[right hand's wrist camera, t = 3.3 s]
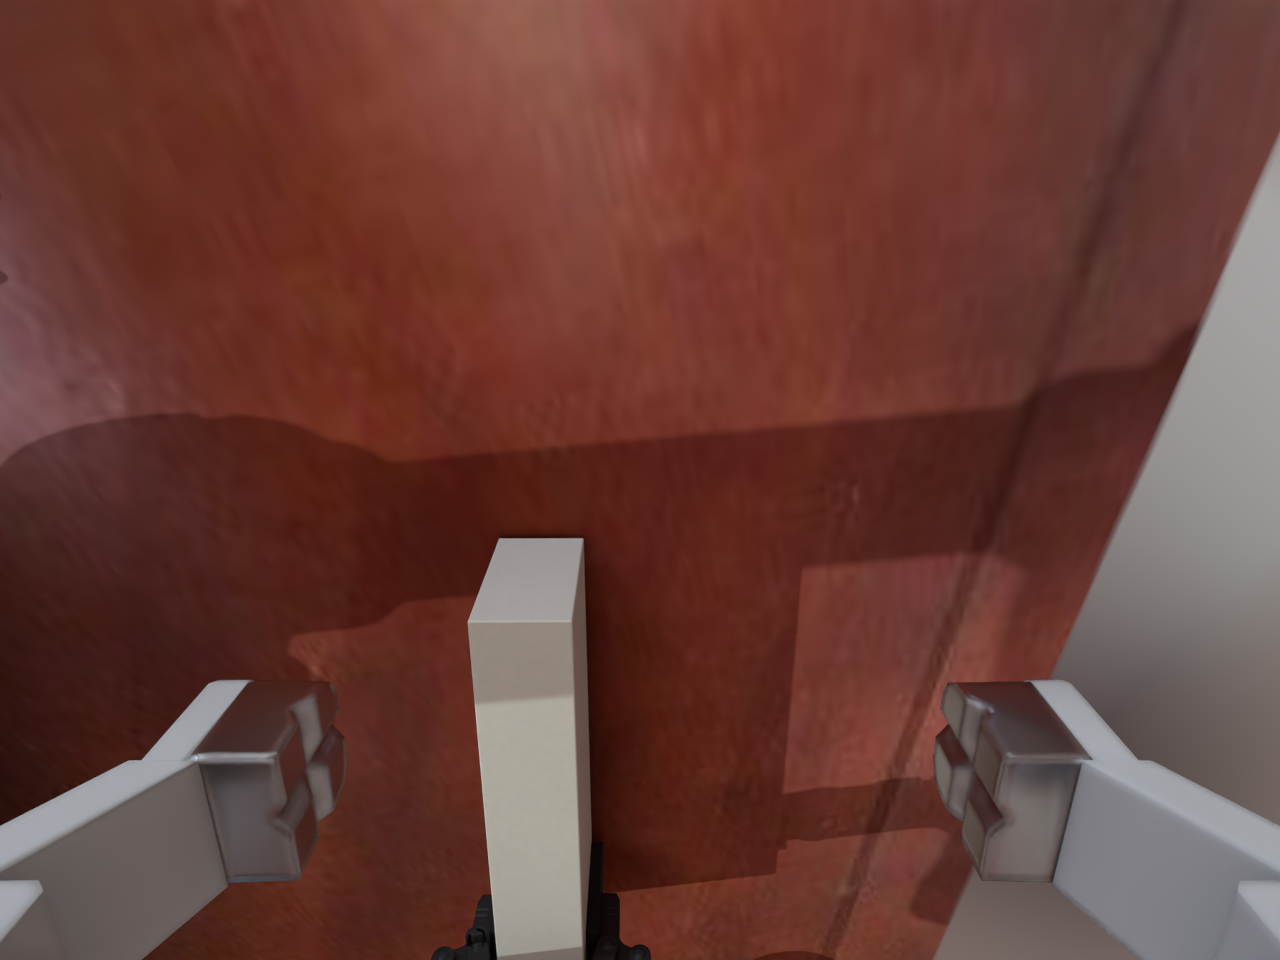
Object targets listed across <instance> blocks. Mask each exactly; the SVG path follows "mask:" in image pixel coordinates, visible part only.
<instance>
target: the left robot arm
mask: <svg viewBox="0 0 1280 960" xmlns="http://www.w3.org/2000/svg"><path fill="white" fill-rule="evenodd" d="M602 892H603V842H591V854H590V870H589V886H588V902H587V918H586V959H587V960H651V954H650V950H649V949H648V948H647V947H646V946H644V945H635V946H634V947H632V948H631V947H628V946H626V945H624V944H623V943H622V942H621V941H620V938H619V934H620V900H619V898H618V896H617V893H602ZM431 960H497V950H496V938H495V927H494V916H493V904H492V895H483V896H482V897H481V899H480V900H479V901H478V906H477V911H476V915H475V920H474V924H473V927H472V928H471V929H470V930H468V932H467V934H466V945H464V946H463V947H461V948H458V949H455V950H453V949H452V948H450V947H447V946H444V947H440V948H439V949H437V950H436V951H435V952H434V954H433V956H432V959H431Z"/></svg>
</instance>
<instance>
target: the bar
mask: <svg viewBox="0 0 1280 960" xmlns="http://www.w3.org/2000/svg"><path fill="white" fill-rule="evenodd" d="M468 631H469V643H470V654H471V665H472V677H473V688H474V699H475V711H476V722H477V734H478V745H479V756H480V768H481V779H482V790H483V802H484V813H485V825H486V836H487V847H488V859H489V870H490V881H491V893H492V904H493V916H494V927H495V938H496V950H497V960H587V959H586V918H587V902H588V886H589V870H590V854H591V842H592V830H591V793H590V755H589V718H588V680H587V643H586V605H585V568H584V539H583V538H500V539H499V540H498V543H497V546H496V548H495V551H494V554H493V556H492V559H491V562H490V564H489V567H488V570H487V572H486V575H485V577H484V580H483V583H482V585H481V588H480V591H479V593H478V596H477V599H476V601H475V604H474V607H473V609H472V612H471V615H470V617H469V620H468Z"/></svg>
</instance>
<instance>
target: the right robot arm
mask: <svg viewBox="0 0 1280 960" xmlns="http://www.w3.org/2000/svg"><path fill="white" fill-rule="evenodd" d="M339 709H340V707H339V703H338V698H337V693H336V688H335V687H334V686H333V685H332V684H331V683H330V682H323V681H276V680H256V681H252V680H218V681H215V682H212V683H209V684H208V685H207V686H206V687H205V688H204V689H203V691H202V692H201V693H200V694H199V695H198V696H197V697H196V699H195V700H194V701H193V702H192V703H191V704H190V705H189V706H188V708H187V709H186V710H185V711H184V712H183V713H182V714H181V716H180V717H179V718H178V719H177V720H176V721H175V722H174V724H173V725H172V726H171V727H170V728H169V729H168V730H167V732H166V733H165V734H164V735H163V736H162V737H161V738H160V740H159V741H158V742H157V743H156V744H155V745H154V746H153V748H152V749H151V750H150V751H149V752H148V753H147V754H146V756H145V757H144V758H143V759H142V760H129V761H127V762H125V763H123V764H121V765H119V766H117V767H115V768H113V769H111V770H109V771H107V772H105V773H103V774H101V775H99V776H97V777H95V778H93V779H91V780H89V781H87V782H85V783H84V784H82V785H80V786H78V787H76V788H74V789H72V790H70V791H68V792H66V793H64V794H62V795H60V796H58V797H56V798H54V799H52V800H50V801H48V802H46V803H44V804H42V805H40V806H38V807H36V808H34V809H32V810H30V811H29V812H27V813H25V814H23V815H21V816H19V817H17V818H15V819H13V820H11V821H9V822H7V823H5V824H3V825H1V826H0V960H142V959H143V958H144V957H145V956H146V955H148V954H149V953H150V952H151V951H152V950H154V949H155V948H156V947H157V946H158V945H159V944H161V943H162V942H163V941H164V940H165V939H166V938H168V937H169V936H170V935H171V934H172V933H174V932H175V931H176V930H177V929H178V928H179V927H181V926H182V925H183V924H184V923H185V922H186V921H188V920H189V919H190V918H191V917H192V916H194V915H195V914H196V913H197V912H198V911H199V910H201V909H202V908H203V907H204V906H205V905H207V904H208V903H209V902H210V901H211V900H212V899H214V898H215V897H216V896H217V895H218V894H219V893H221V892H222V891H223V890H224V889H225V888H227V887H228V884H227V883H229V882H263V881H297V880H299V878H300V876H301V874H302V872H303V870H304V868H305V866H306V864H307V862H308V860H309V858H310V856H311V854H312V852H313V850H314V848H315V846H316V844H317V842H318V840H319V838H320V835H319V829H318V823H317V822H318V821H319V820H321V819H322V818H323V817H325V816H326V815H327V814H329V813H330V812H332V811H333V810H334V808H335V806H336V803H337V801H338V799H339V797H340V795H341V792H342V788H343V783H344V779H345V774H346V757H347V752H346V745H345V738H344V736H343V735H342V734H341V733H340V732H339V731H338V730H337V729H336V728H335V727H334V726H333V725H332V724H331V723H332V722H333V720H334V718H335V716H336V715H337V713H338V711H339ZM940 709H941V711H942V713H943V715H944V716H945V718H946V720H947V722H948V723H949V724H948V725H947V726H946V727H945V728H944V729H943V730H942V731H941V732H940V733H939V734H938V735H937V736H936V739H935V747H934V755H933V762H934V773H935V781H936V784H937V788H938V791H939V795H940V797H941V799H942V801H943V803H944V806H945V808H946V810H947V811H948V812H950V813H951V814H953V815H954V816H955V817H957V818H958V819H960V820H961V821H962V822H963V824H962V829H961V835H960V838H961V840H962V842H963V844H964V846H965V848H966V850H967V852H968V854H969V856H970V858H971V860H972V862H973V864H974V866H975V868H976V870H977V872H978V874H979V876H980V878H981V880H982V881H1017V882H1052V886H1053V887H1054V888H1055V889H1056V890H1057V891H1059V892H1060V893H1061V894H1062V895H1063V896H1064V897H1066V898H1067V899H1068V900H1069V901H1070V902H1071V903H1073V904H1074V905H1075V906H1076V907H1077V908H1079V909H1080V910H1081V911H1082V912H1083V913H1084V914H1086V915H1087V916H1088V917H1089V918H1090V919H1091V920H1093V921H1094V922H1095V923H1096V924H1097V925H1099V926H1100V927H1101V928H1102V929H1103V930H1104V931H1106V932H1107V933H1108V934H1109V935H1110V936H1111V937H1113V938H1114V939H1115V940H1116V941H1117V942H1119V943H1120V944H1121V945H1122V946H1123V947H1124V948H1126V949H1127V950H1128V951H1129V952H1130V953H1131V954H1133V955H1134V956H1135V957H1136V958H1137V959H1139V960H1280V826H1279V825H1277V824H1275V823H1273V822H1271V821H1269V820H1267V819H1265V818H1263V817H1261V816H1259V815H1257V814H1255V813H1253V812H1251V811H1249V810H1247V809H1245V808H1243V807H1241V806H1239V805H1238V804H1235V803H1234V802H1232V801H1230V800H1228V799H1226V798H1224V797H1222V796H1220V795H1218V794H1216V793H1214V792H1212V791H1210V790H1208V789H1206V788H1204V787H1202V786H1200V785H1198V784H1196V783H1194V782H1192V781H1191V780H1189V779H1187V778H1185V777H1183V776H1181V775H1179V774H1177V773H1175V772H1173V771H1171V770H1169V769H1167V768H1165V767H1163V766H1161V765H1159V764H1157V763H1155V762H1153V761H1151V760H1138V759H1137V758H1136V757H1135V756H1134V754H1133V753H1132V752H1131V751H1130V750H1129V749H1128V748H1127V746H1126V745H1125V744H1124V743H1123V742H1122V741H1121V740H1120V738H1119V737H1118V736H1117V735H1116V734H1115V733H1114V732H1113V730H1112V729H1111V728H1110V727H1109V726H1108V725H1107V724H1106V723H1105V721H1104V720H1103V719H1102V718H1101V717H1100V716H1099V715H1098V713H1097V712H1096V711H1095V710H1094V709H1093V708H1092V707H1091V705H1090V704H1089V703H1088V702H1087V701H1086V700H1085V699H1084V697H1083V696H1082V695H1081V694H1080V693H1079V692H1078V691H1077V689H1076V688H1075V687H1074V686H1073V685H1072V684H1071V683H1069V682H1067V681H1064V680H1062V679H1060V680H1029V681H1024V682H954V683H948V684H947V686H946V688H945V690H944V692H943V696H942V702H941V707H940Z"/></svg>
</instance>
